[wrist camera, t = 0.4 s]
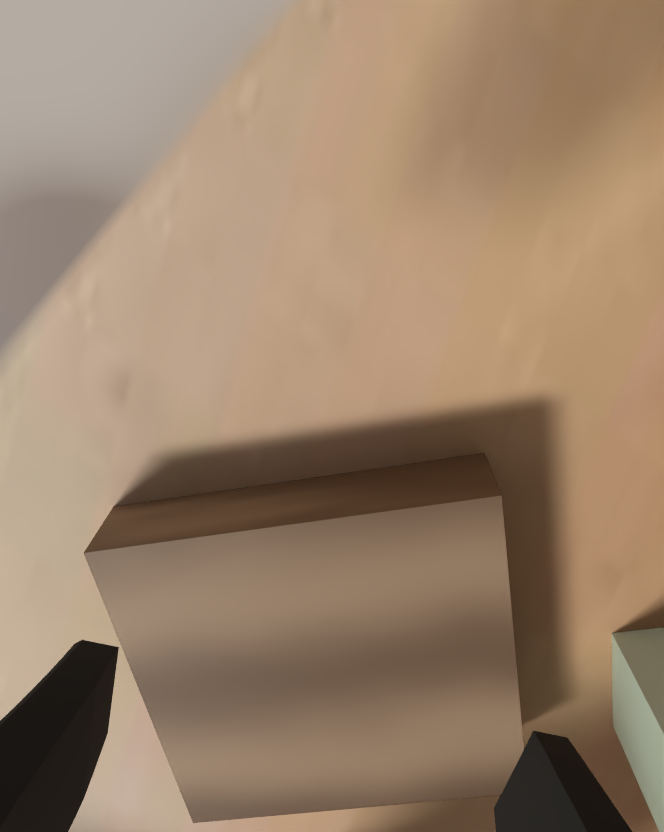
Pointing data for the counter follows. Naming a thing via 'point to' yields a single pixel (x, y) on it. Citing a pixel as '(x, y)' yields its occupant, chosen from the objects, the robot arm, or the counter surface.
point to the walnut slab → (322, 638)
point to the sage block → (641, 710)
